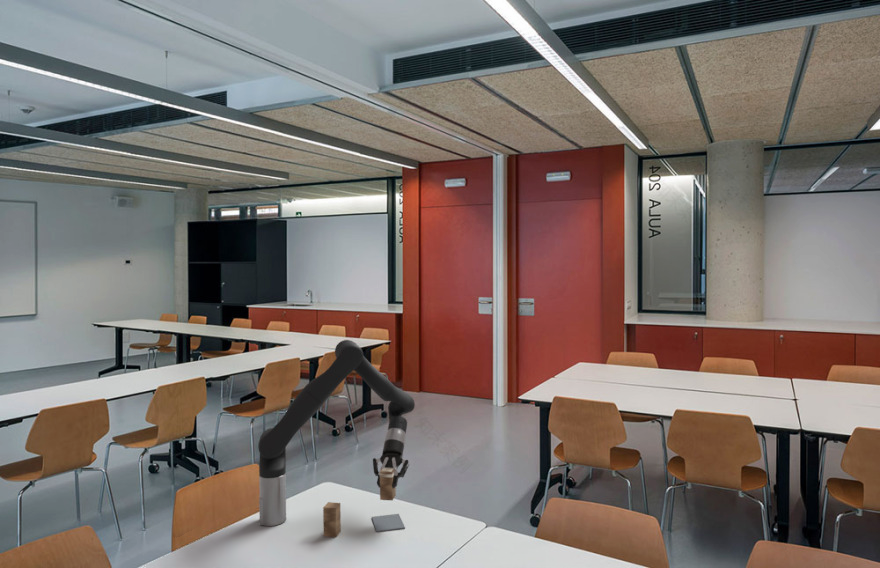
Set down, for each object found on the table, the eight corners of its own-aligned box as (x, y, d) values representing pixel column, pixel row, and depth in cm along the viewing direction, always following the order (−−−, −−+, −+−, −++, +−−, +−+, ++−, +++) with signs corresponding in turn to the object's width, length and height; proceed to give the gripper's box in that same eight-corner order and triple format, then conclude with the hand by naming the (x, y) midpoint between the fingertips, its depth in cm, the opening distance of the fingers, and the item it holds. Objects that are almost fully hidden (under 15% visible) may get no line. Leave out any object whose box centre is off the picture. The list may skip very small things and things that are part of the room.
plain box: (323, 536, 198) (323, 507, 198) (328, 530, 202) (328, 502, 202) (336, 537, 197) (335, 508, 197) (340, 531, 201) (340, 503, 201)
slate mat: (376, 532, 201) (376, 530, 200) (371, 518, 212) (371, 516, 212) (405, 528, 203) (405, 527, 203) (398, 515, 215) (398, 513, 215)
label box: (380, 499, 206) (379, 471, 205) (383, 494, 210) (383, 467, 210) (392, 500, 205) (392, 471, 205) (395, 495, 209) (395, 467, 209)
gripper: (374, 437, 216) (364, 481, 204) (411, 439, 213) (404, 483, 202) (378, 447, 221) (369, 490, 209) (414, 449, 218) (407, 492, 207)
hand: (386, 486), depth 206 cm, fingers closed on label box, 4 cm apart
